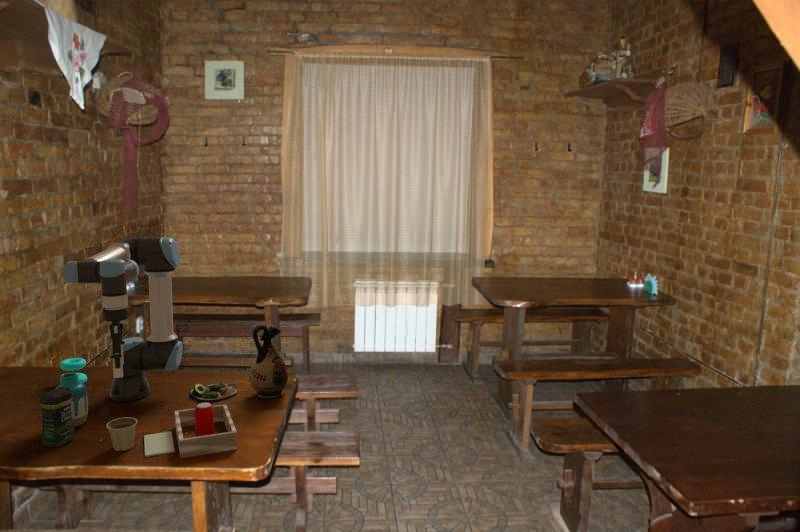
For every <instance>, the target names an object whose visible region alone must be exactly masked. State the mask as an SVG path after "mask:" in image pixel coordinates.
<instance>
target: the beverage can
mask: <svg viewBox="0 0 800 532" xmlns="http://www.w3.org/2000/svg"><path fill="white" fill-rule="evenodd" d="M213 406H214V405H212V404H211V402H200V403H198V404H197V405H196V406H195V425H194V426H195V431H194V432H195V437H198V436H205V435H212V434H215V422H214V409H213Z"/></svg>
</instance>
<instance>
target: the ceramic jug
mask: <svg viewBox="0 0 800 532" xmlns="http://www.w3.org/2000/svg"><path fill="white" fill-rule="evenodd" d="M261 331H263V333H262V334H261V337H260V339H259V337H258V333H259V332H261ZM279 334H281V330H280V329H279V328H277V327H275V326H273V327H272V326H269V328H268V327H267V326H266V325H264V324H257V325H255V327H254V328H253V329H252V339H253V342H254V345H255V347H256V350H257V354H256V356H255V358H254V359H253V362H252V364H251V366H250V370H249V382H250V386H251V388H253V390H254V391H255V392H256V394H257V395H258V398H262V399H275V398H279V397H282V391H284V389H285V388H286V385H287V383H288V380H289V372H288V369H287V365H286V363H285V361H284V358H282V356H281V354H280V353H279V352H278V351H277V350H276V348H275V347H274V346H273V342H272V339H274V338H275V337H276V336H278V335H279ZM260 341H262V345H261V343H260Z"/></svg>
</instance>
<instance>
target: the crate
mask: <svg viewBox="0 0 800 532" xmlns="http://www.w3.org/2000/svg"><path fill="white" fill-rule="evenodd" d="M212 406H213V409H214V423H220V422H219V421H221V422H223V423H225V424H224V426H225V429H226V431H227V432H220V433H219V432H218V433H214V434H212V435H205V436H198V437H196V436H193V437H186V438H184V435H183V428H185V427H192V426H195V408H196V407H195V408H194V407H193V408H187V409H180V410H174V425H175V426H174V427H175V433H176V438H177V439H176V440H177V446H178V451H179V457H180V459H184V458H190V457H196V456H204V455H209V454H216V453H222V452H227V451H229V452H230V451H235V450H238V431H237V429H236V427H235V424H234V421H233V419H232V416H231V413H230V411H229V408H228V406H227V404H225V403H224V404H218V405H217V404H215V405H212Z"/></svg>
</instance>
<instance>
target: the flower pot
mask: <svg viewBox="0 0 800 532" xmlns="http://www.w3.org/2000/svg"><path fill="white" fill-rule="evenodd" d="M137 424H138V419H136V418H134V417H127V416H125V417H119V418H115V419H112V420H110V421H109V422H107V423H106V426H105V427H106V429H107V431H108V432H109V435H110V439H111V443H112V447H113V448H112V449H113V450H114V451H116V452H120V451H122V452H123V451H128V450H130V449H132V448H133V447H134V445H135V433H136V428H137Z"/></svg>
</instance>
